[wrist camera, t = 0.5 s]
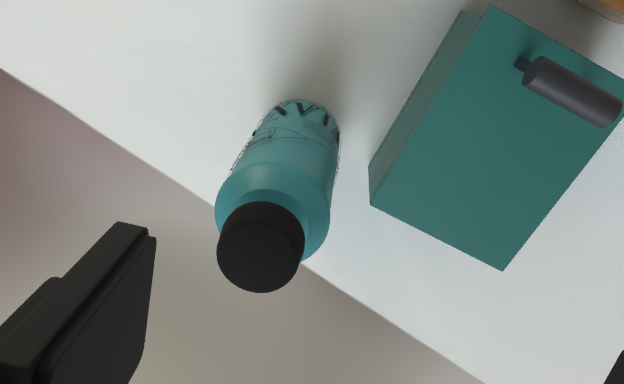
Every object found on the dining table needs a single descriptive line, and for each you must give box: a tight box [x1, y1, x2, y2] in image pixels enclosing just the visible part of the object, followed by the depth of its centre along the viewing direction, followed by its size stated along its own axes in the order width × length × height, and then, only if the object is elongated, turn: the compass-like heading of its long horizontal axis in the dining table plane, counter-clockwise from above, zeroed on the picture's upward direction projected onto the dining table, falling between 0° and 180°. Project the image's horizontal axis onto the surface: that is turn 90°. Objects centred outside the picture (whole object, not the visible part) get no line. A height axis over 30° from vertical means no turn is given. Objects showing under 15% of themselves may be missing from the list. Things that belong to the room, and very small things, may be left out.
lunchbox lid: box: [370, 5, 624, 272], centre depth 32 cm, size 14×11×5 cm
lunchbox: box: [368, 9, 482, 199], centre depth 38 cm, size 14×11×7 cm
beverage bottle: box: [215, 99, 342, 293], centre depth 33 cm, size 6×7×20 cm
